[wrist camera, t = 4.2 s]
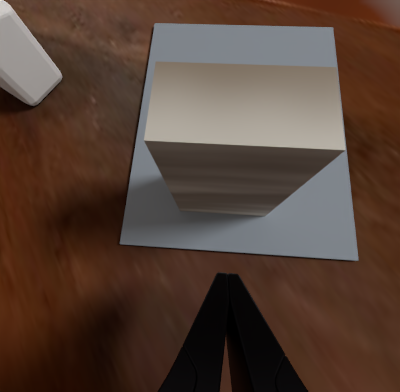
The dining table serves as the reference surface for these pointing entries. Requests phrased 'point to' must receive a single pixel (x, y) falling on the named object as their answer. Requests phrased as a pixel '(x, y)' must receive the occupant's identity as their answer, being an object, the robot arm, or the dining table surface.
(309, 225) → the mat
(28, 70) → the pepper shaker
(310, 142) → the beige streaked block
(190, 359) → the robot arm
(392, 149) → the dining table surface
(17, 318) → the dining table surface
